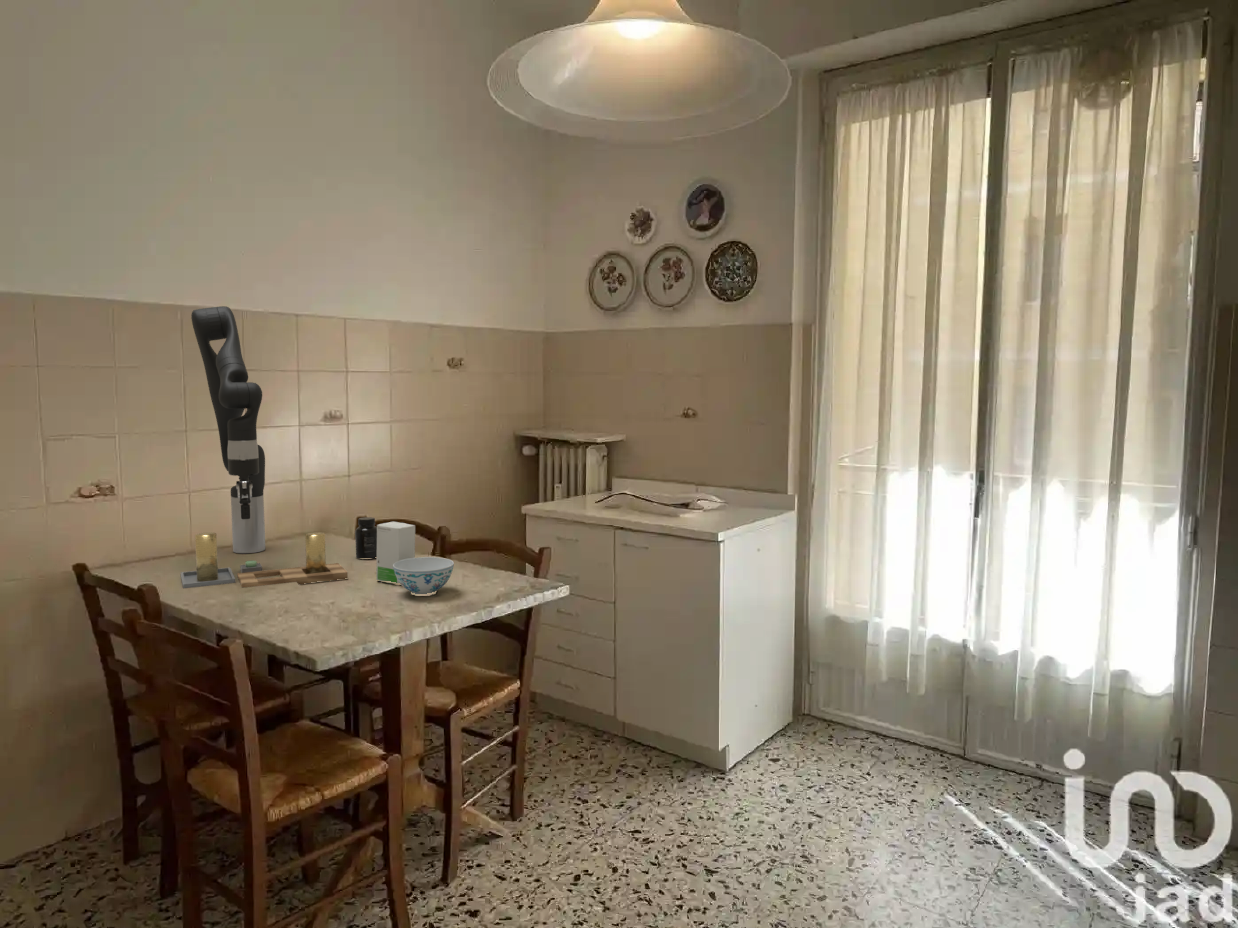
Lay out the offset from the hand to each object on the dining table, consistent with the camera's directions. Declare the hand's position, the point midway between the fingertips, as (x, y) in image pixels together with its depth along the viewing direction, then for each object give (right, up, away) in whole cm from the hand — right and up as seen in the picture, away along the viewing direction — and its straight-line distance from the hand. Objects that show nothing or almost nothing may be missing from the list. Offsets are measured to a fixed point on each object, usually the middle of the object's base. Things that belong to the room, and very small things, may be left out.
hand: (245, 516), depth 222 cm
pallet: (+14, -17, -2) cm, 22 cm away
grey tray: (-7, -17, -6) cm, 20 cm away
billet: (-7, -16, -6) cm, 19 cm away
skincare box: (+41, -18, -2) cm, 45 cm away
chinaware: (+51, -19, -13) cm, 56 cm away
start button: (0, -14, +3) cm, 14 cm away
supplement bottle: (+25, -14, +26) cm, 39 cm away
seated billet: (+19, -17, +1) cm, 25 cm away
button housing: (0, -16, +3) cm, 17 cm away
